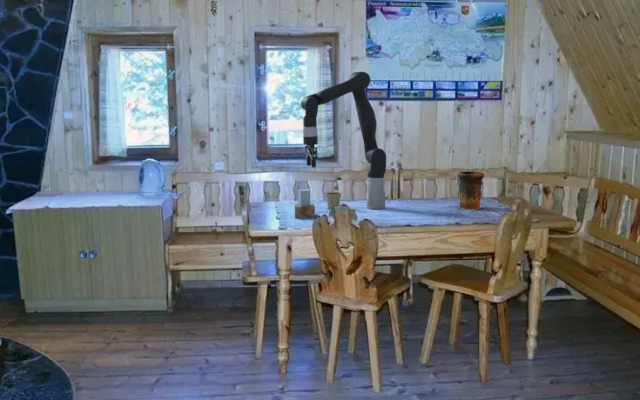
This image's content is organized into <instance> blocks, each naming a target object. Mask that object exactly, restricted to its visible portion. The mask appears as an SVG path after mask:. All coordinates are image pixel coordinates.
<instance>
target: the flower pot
mask: <svg viewBox="0 0 640 400" xmlns="http://www.w3.org/2000/svg"><path fill="white" fill-rule="evenodd" d="M342 194H343V192H336V191H333V192H331V191H329V192H325V193H324V195H325V198H326V204H327V205H326V206H327V210H330V209H332V210H334V209H333V208H335V207H337V206H339V207H340V203H341V197H342Z"/></svg>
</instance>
